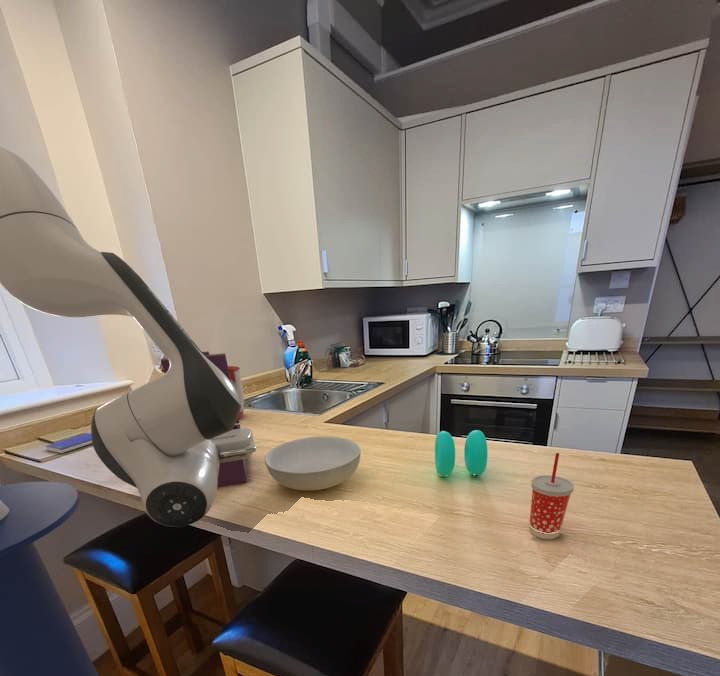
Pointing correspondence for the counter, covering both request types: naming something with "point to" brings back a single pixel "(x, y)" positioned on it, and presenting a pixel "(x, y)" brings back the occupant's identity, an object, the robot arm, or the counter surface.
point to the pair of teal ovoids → (472, 453)
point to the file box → (232, 470)
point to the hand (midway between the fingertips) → (198, 435)
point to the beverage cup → (549, 503)
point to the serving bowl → (313, 462)
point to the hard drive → (70, 443)
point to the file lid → (216, 359)
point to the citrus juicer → (237, 385)
